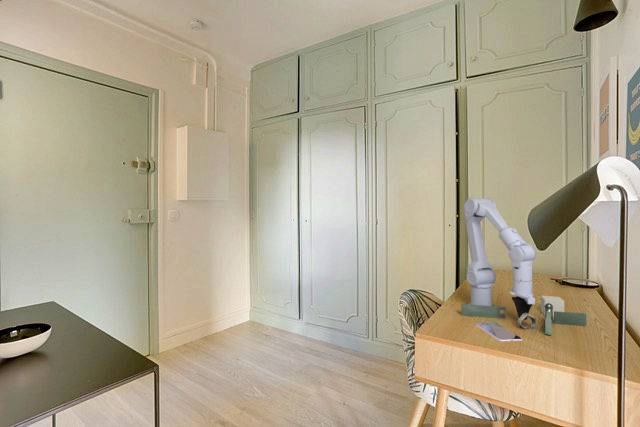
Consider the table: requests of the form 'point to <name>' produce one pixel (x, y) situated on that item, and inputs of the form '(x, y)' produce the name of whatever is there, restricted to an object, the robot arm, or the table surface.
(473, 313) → the latch stile
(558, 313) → the hinge post
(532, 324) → the wristwatch
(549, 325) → the sage green stepped bar
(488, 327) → the mobile phone
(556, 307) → the off-white chamfered cube
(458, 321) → the table surface
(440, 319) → the table surface
